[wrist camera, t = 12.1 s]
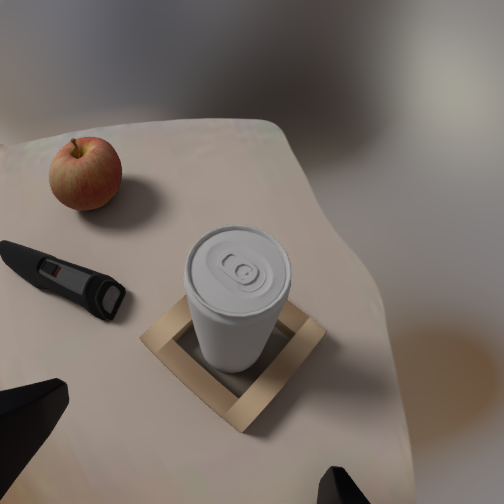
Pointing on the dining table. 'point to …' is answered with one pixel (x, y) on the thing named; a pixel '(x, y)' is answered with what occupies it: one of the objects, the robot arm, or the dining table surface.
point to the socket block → (240, 383)
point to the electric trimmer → (65, 279)
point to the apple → (85, 173)
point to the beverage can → (235, 293)
